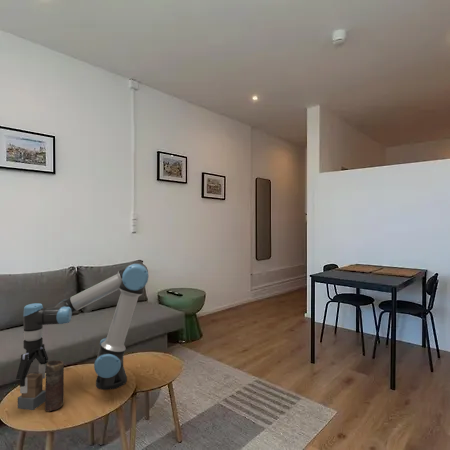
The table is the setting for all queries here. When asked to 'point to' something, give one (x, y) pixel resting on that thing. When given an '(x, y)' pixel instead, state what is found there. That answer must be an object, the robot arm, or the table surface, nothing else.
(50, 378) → the candle
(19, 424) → the table surface
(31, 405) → the base block
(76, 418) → the table surface
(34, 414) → the table surface
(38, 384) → the walnut block
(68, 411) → the table surface
